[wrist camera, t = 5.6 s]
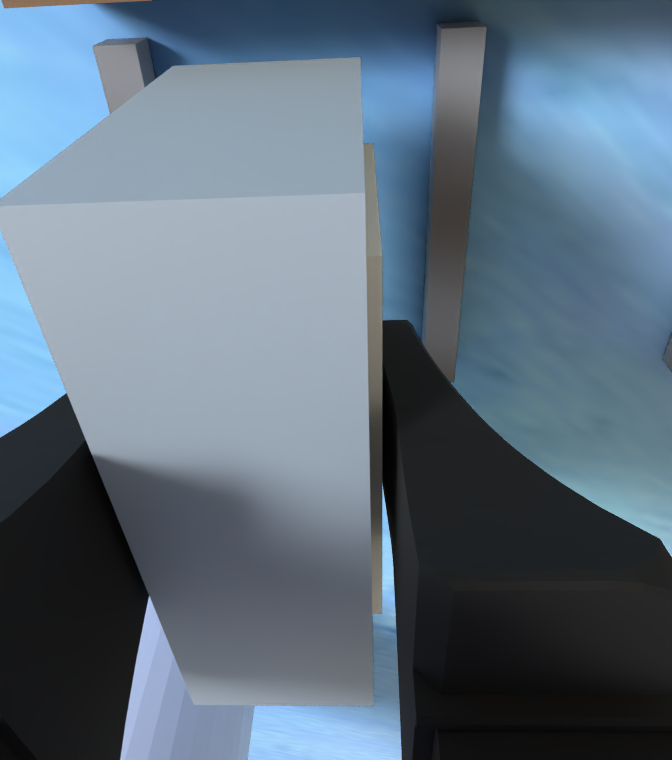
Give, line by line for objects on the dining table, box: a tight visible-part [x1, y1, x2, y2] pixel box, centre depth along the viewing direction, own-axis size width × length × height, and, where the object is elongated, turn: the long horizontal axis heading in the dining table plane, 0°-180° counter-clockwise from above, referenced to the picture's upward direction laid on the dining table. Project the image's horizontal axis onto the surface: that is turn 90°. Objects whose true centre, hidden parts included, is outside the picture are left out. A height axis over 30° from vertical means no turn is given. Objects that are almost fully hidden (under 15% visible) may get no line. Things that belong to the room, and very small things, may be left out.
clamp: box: [2, 0, 672, 382], centre depth 15 cm, size 13×18×4 cm
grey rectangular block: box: [0, 57, 382, 706], centre depth 11 cm, size 10×4×7 cm, turn 3°
